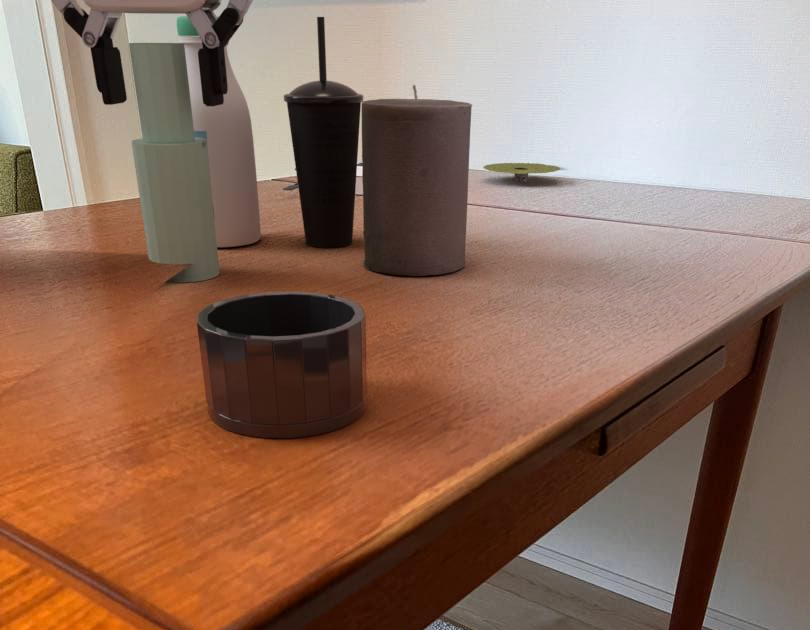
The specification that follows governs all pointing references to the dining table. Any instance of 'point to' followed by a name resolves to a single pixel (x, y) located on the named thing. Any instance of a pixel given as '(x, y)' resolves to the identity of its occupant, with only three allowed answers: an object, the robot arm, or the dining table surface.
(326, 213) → the drinking cup
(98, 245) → the dining table surface
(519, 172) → the green disc on stem
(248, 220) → the milk bottle
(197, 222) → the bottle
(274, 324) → the holder
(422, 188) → the pillar candle
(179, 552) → the dining table surface
